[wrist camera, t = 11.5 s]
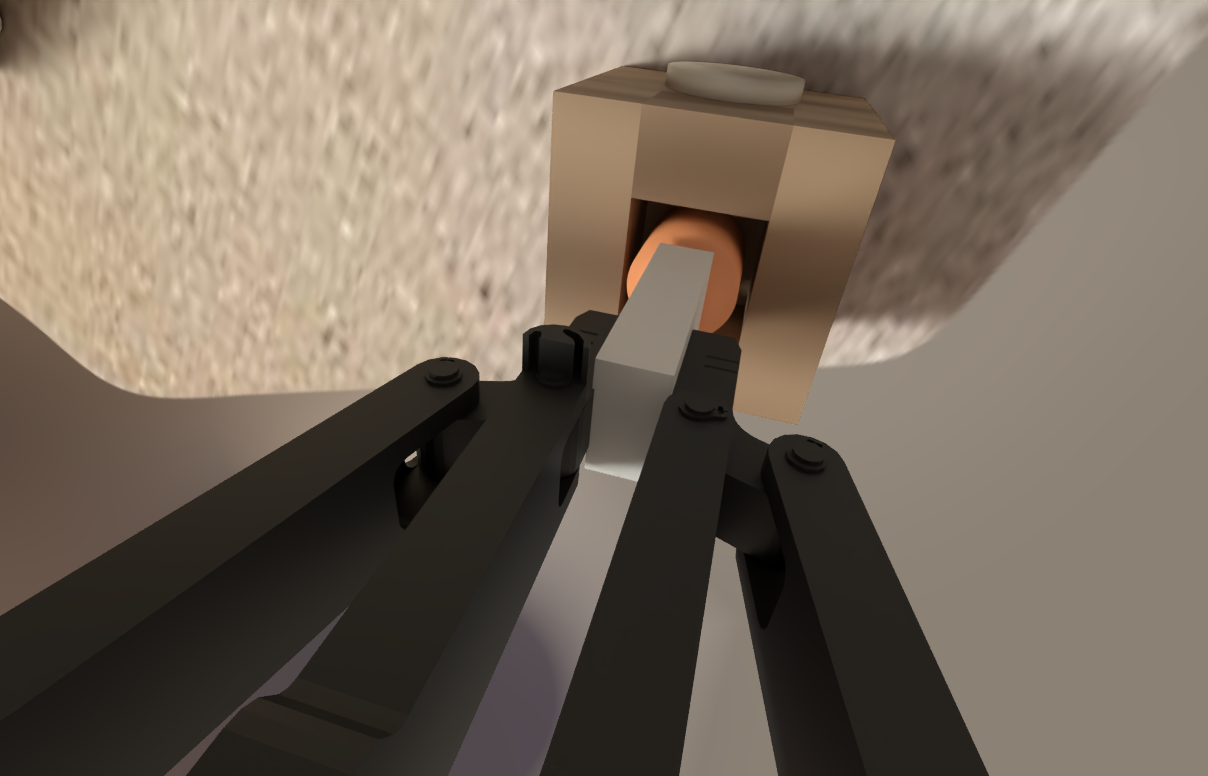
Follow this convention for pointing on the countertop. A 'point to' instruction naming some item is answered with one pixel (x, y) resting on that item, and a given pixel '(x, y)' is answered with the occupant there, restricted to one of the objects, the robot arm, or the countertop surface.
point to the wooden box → (717, 202)
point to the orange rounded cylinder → (705, 235)
